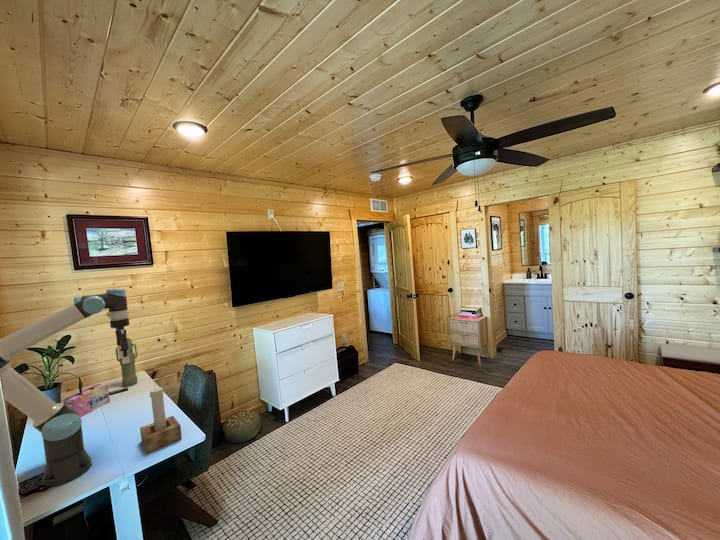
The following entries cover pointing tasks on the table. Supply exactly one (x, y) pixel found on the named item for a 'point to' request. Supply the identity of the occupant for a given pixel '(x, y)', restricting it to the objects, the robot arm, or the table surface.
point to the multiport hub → (118, 391)
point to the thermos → (128, 366)
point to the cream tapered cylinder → (158, 408)
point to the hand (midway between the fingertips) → (124, 360)
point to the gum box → (88, 399)
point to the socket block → (160, 435)
